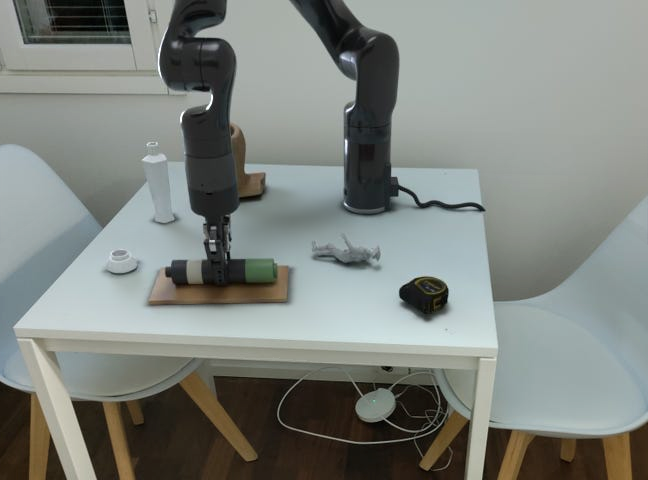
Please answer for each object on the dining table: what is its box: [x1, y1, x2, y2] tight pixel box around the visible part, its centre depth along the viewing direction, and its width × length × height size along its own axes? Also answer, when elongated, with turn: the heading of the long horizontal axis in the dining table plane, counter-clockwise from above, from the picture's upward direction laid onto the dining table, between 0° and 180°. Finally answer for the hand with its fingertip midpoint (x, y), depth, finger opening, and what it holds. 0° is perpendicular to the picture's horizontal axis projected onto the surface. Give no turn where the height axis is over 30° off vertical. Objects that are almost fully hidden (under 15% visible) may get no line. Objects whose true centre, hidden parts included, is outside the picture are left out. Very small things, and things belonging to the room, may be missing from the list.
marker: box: [164, 257, 279, 284], centre depth 116 cm, size 18×4×4 cm, turn 92°
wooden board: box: [148, 265, 290, 306], centre depth 117 cm, size 22×11×1 cm, turn 92°
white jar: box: [106, 248, 138, 274], centre depth 121 cm, size 5×3×5 cm
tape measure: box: [398, 275, 450, 316], centre depth 111 cm, size 7×7×4 cm
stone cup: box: [230, 121, 267, 198], centre depth 143 cm, size 15×12×15 cm
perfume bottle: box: [141, 141, 176, 224], centre depth 134 cm, size 5×4×15 cm
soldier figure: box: [311, 232, 382, 264], centre depth 123 cm, size 8×5×12 cm
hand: (223, 277), depth 116 cm, fingers closed on marker, 4 cm apart
